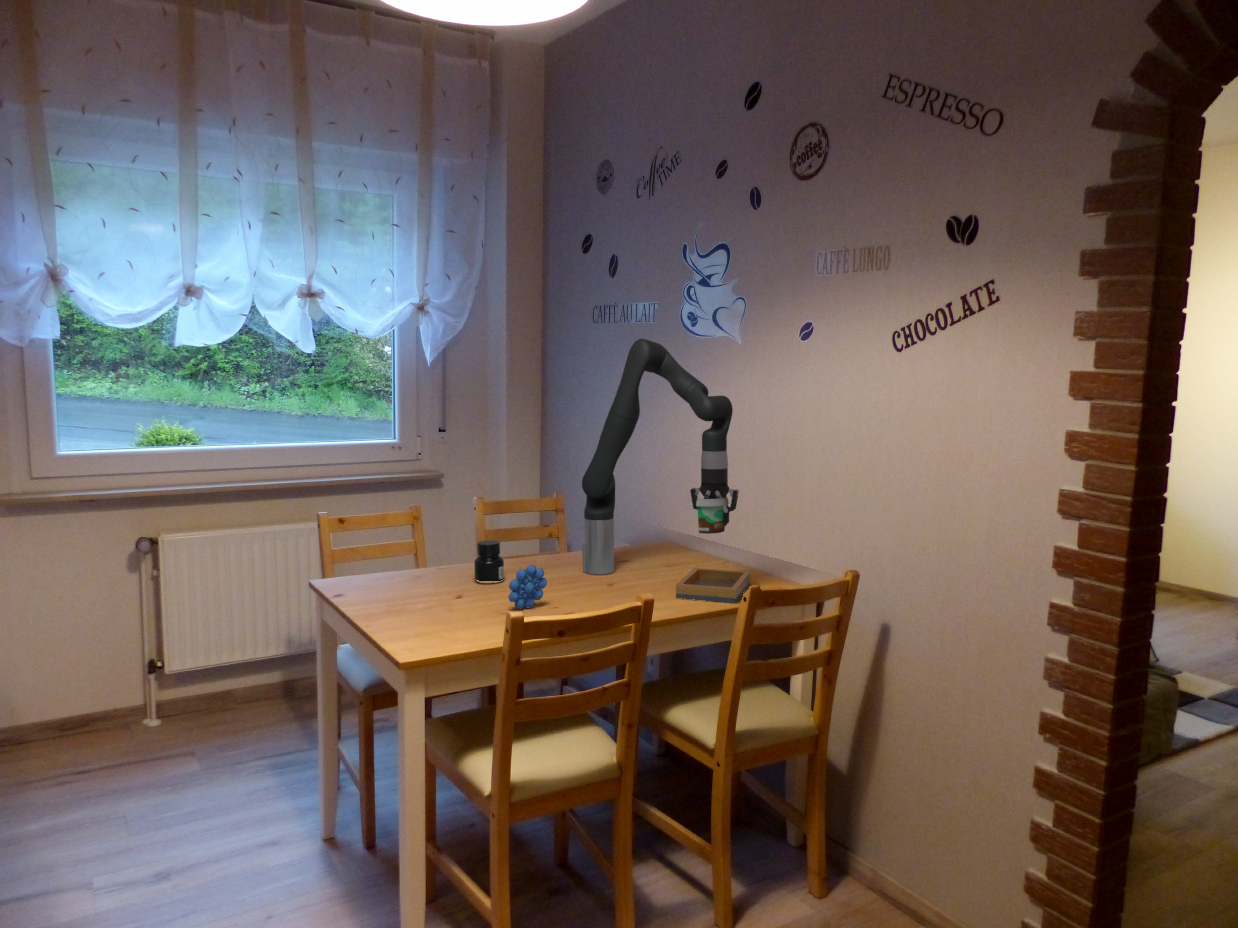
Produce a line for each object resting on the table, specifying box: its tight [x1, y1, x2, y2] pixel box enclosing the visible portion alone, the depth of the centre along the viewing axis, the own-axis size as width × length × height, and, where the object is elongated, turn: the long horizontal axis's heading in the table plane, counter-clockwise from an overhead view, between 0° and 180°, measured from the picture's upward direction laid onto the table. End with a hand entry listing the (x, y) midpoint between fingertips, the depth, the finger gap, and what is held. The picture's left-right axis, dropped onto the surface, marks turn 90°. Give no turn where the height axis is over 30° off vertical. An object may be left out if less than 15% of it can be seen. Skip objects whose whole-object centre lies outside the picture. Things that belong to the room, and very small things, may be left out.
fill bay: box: [675, 567, 751, 605], centre depth 263 cm, size 17×21×4 cm
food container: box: [696, 495, 730, 535], centre depth 260 cm, size 12×6×10 cm, turn 144°
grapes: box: [507, 564, 548, 610], centre depth 248 cm, size 12×7×12 cm, turn 123°
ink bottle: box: [473, 539, 505, 581], centre depth 277 cm, size 10×9×12 cm
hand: (714, 524), depth 261 cm, fingers closed on food container, 5 cm apart
